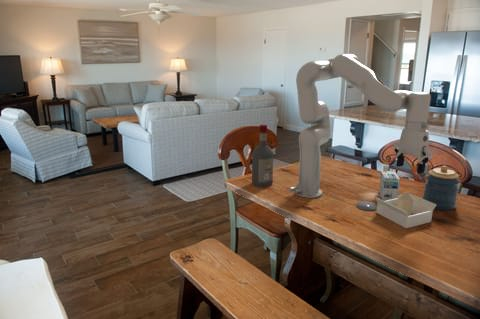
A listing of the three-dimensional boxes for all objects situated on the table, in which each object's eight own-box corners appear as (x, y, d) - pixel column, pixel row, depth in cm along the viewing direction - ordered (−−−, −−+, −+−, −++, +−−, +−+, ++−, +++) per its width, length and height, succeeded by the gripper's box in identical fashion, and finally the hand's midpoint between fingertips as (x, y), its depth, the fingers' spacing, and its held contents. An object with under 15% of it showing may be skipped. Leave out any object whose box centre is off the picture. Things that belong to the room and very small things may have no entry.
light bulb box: (397, 201, 161) (400, 178, 158) (381, 200, 162) (384, 177, 159) (393, 192, 171) (395, 171, 168) (378, 191, 172) (380, 170, 169)
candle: (398, 213, 150) (401, 190, 147) (412, 217, 146) (416, 194, 143) (393, 217, 146) (396, 193, 143) (407, 221, 142) (410, 197, 139)
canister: (416, 198, 164) (422, 161, 159) (445, 198, 164) (452, 161, 159) (430, 210, 152) (436, 170, 147) (461, 211, 151) (469, 170, 146)
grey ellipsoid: (365, 211, 151) (366, 210, 151) (352, 204, 158) (352, 203, 158) (380, 208, 154) (380, 206, 154) (367, 201, 161) (367, 200, 161)
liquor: (275, 184, 182) (276, 125, 173) (260, 188, 177) (261, 127, 168) (264, 179, 189) (264, 122, 180) (249, 183, 184) (250, 124, 175)
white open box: (402, 229, 136) (405, 211, 134) (373, 213, 149) (375, 197, 147) (433, 221, 142) (436, 204, 140) (402, 206, 156) (405, 191, 154)
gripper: (443, 129, 129) (436, 174, 134) (404, 121, 144) (399, 162, 149) (428, 131, 126) (421, 177, 131) (390, 122, 141) (385, 164, 146)
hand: (409, 169), depth 140 cm, fingers open, 9 cm apart
